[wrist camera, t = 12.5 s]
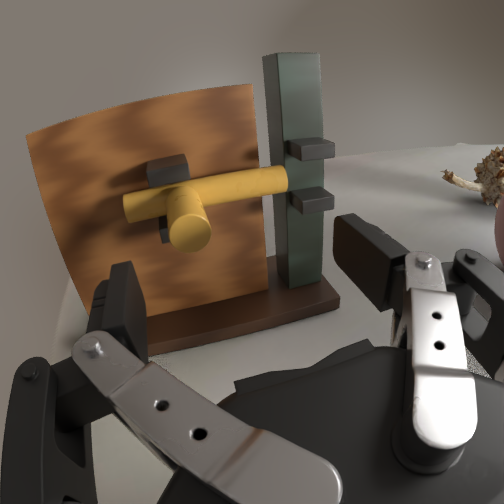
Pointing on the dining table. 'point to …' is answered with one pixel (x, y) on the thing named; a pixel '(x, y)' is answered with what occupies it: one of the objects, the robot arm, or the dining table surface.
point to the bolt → (200, 202)
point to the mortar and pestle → (500, 229)
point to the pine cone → (485, 178)
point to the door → (219, 216)
